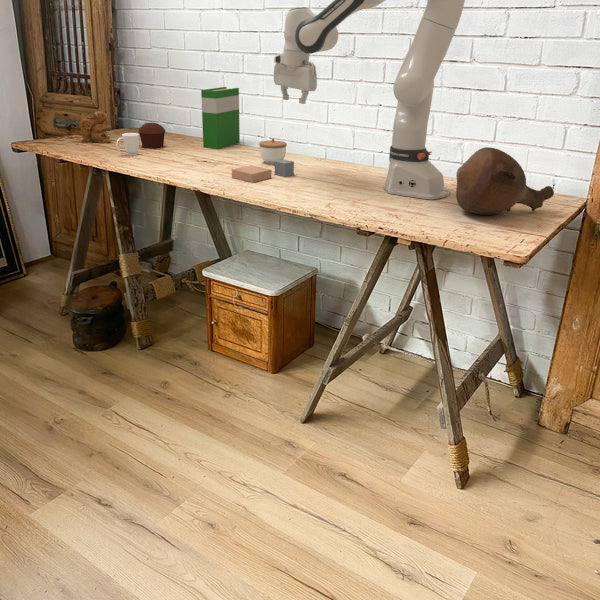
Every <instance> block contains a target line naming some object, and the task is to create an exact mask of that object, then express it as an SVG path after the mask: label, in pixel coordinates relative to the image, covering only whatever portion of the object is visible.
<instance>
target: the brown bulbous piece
mask: <svg viewBox="0 0 600 600" xmlns="http://www.w3.org/2000/svg"><path fill="white" fill-rule="evenodd" d="M455 177H456V188H455V189H456V192H455V196H456V201H457V205H458V206H459V207H460V208H461V209H463V210H465V211H467V212H470V213H473V214H475V215H481V216H492V215H497V214H501V213H503V212H508V213H510V212H511V210H512V208H513V207H514V206H515V205H517V204H520V205H523V206H524V205H525V206H527V207H529V208H531V211H532V210H534V211H533V212H535V211H536V209H539V208H542V207H543V205H544V202H545V201H547V200H550V199H551V198H553V196H554V195H555V191H554V189H553V187H552V186H550V185H547V186H545V187H544V188H541V189H540V190H536V189H533V188H531V187H530V186H528V185H527V178H526V174H525V171H524V169H523V167H522V166H521V164H520V163H519V162H518V161H517V160H516V159H515V158H514V157H512V156H511V155H510V154H508V153H506V152H505V151H503V150H501V149H498V148H495V147H482V148H479V149H478V150H477V151H475V152H474V153H473V154H471V156H470V157H469V158H468V159H467V160H466V161H464V163H463V164H462V165H461V166H460V167H459V168H458V169H457V171H456V176H455Z"/></svg>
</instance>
